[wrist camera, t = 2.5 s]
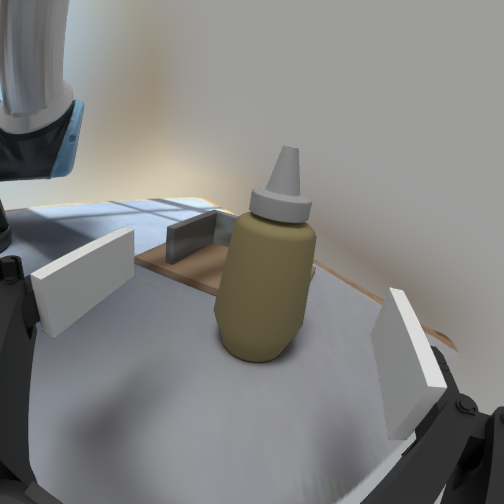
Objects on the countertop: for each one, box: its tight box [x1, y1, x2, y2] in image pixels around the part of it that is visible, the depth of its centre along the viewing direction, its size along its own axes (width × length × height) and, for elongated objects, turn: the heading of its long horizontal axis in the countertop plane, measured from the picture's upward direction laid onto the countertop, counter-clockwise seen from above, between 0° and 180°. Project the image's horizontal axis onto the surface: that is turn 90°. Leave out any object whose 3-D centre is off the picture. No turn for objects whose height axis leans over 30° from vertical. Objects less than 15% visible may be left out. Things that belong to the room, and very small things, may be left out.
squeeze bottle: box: [214, 146, 316, 362], centre depth 24 cm, size 8×8×18 cm
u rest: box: [135, 210, 316, 296], centre depth 40 cm, size 22×15×6 cm
